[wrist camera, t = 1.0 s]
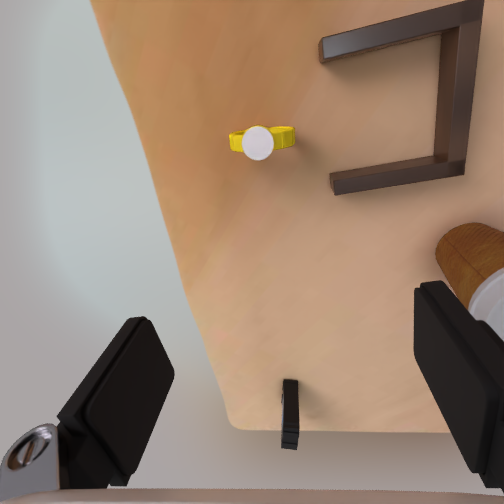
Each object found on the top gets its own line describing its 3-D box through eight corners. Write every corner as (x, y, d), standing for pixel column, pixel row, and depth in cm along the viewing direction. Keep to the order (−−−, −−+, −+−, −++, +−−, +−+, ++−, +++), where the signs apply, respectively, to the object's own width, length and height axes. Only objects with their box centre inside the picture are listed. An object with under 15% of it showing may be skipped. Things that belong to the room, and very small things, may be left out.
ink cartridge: (283, 377, 46) (282, 428, 39) (298, 379, 46) (299, 430, 39) (281, 398, 48) (280, 449, 41) (295, 400, 48) (296, 451, 41)
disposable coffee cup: (527, 258, 33) (638, 335, 22) (440, 296, 36) (501, 378, 26) (496, 190, 30) (609, 241, 20) (405, 238, 34) (458, 304, 23)
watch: (294, 117, 29) (295, 122, 24) (294, 147, 30) (296, 157, 25) (233, 122, 30) (222, 128, 25) (237, 151, 31) (226, 163, 26)
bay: (318, 43, 26) (321, 37, 23) (463, 6, 24) (485, -5, 21) (330, 187, 32) (334, 195, 29) (448, 167, 30) (464, 175, 27)
